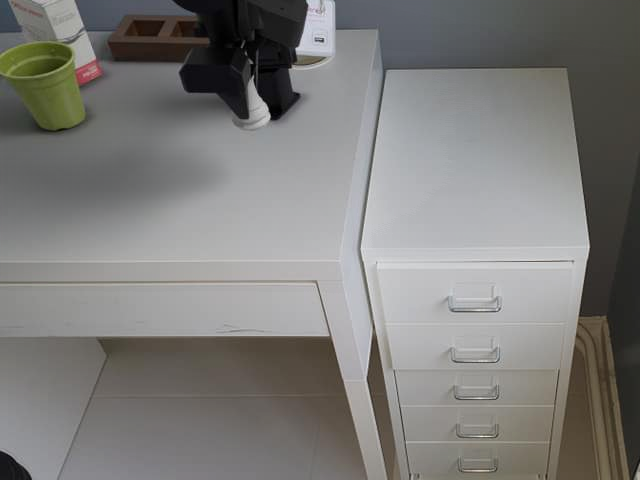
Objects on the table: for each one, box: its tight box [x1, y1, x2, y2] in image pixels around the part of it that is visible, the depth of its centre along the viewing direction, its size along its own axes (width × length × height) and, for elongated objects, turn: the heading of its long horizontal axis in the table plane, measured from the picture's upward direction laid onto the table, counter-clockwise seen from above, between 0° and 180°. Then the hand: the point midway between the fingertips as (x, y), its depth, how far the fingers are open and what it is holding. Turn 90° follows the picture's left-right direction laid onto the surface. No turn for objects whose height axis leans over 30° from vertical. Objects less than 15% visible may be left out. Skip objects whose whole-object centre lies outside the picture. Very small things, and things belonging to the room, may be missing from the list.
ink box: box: [7, 0, 103, 88], centre depth 103 cm, size 9×5×12 cm, turn 58°
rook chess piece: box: [230, 54, 271, 132], centre depth 83 cm, size 4×4×8 cm
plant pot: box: [0, 41, 86, 131], centre depth 96 cm, size 9×9×9 cm
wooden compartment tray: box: [106, 13, 210, 63], centre depth 111 cm, size 9×15×3 cm, turn 90°
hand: (248, 107), depth 85 cm, fingers closed on rook chess piece, 4 cm apart
